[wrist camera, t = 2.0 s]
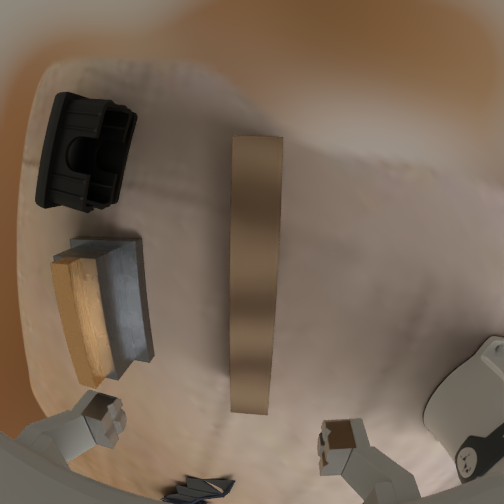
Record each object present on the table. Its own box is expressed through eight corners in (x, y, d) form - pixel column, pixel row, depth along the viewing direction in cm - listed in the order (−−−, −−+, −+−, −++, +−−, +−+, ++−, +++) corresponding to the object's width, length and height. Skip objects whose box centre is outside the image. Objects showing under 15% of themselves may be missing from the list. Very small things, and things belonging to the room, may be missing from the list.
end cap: (85, 103, 24) (43, 91, 18) (140, 108, 24) (103, 92, 18) (65, 194, 27) (22, 202, 20) (117, 209, 27) (76, 220, 20)
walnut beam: (241, 143, 25) (232, 135, 20) (282, 144, 24) (283, 136, 19) (237, 381, 30) (230, 412, 26) (269, 383, 30) (267, 415, 25)
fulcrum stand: (142, 238, 27) (96, 260, 19) (154, 355, 30) (124, 400, 22) (78, 236, 28) (27, 255, 20) (95, 344, 31) (59, 380, 23)
